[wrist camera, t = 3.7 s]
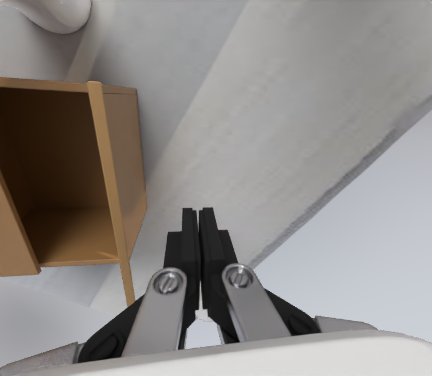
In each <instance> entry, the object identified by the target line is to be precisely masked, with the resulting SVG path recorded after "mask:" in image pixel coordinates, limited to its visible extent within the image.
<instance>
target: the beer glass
mask: <svg viewBox="0 0 432 376" xmlns="http://www.w3.org/2000/svg"><path fill="white" fill-rule="evenodd" d="M0 4H2V5H6V6H10V7H13V8H15V9H17V10H19V11H20V12H21V13H22V14H24V15H25V16H26V17H27V18H29V19H30V20H31V21H33V22H34V23H35V24H37V25H38V26H40V27H42V28H44V29H46V30H48V31H51V32H54V33H59V34H68V33H72V32H75V31H77V30H79V29H80V28H81V27H82V26H83V25H84V24H85V23H86V21H87V19H88V17H89V14H90V10H91V0H0Z"/></svg>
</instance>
